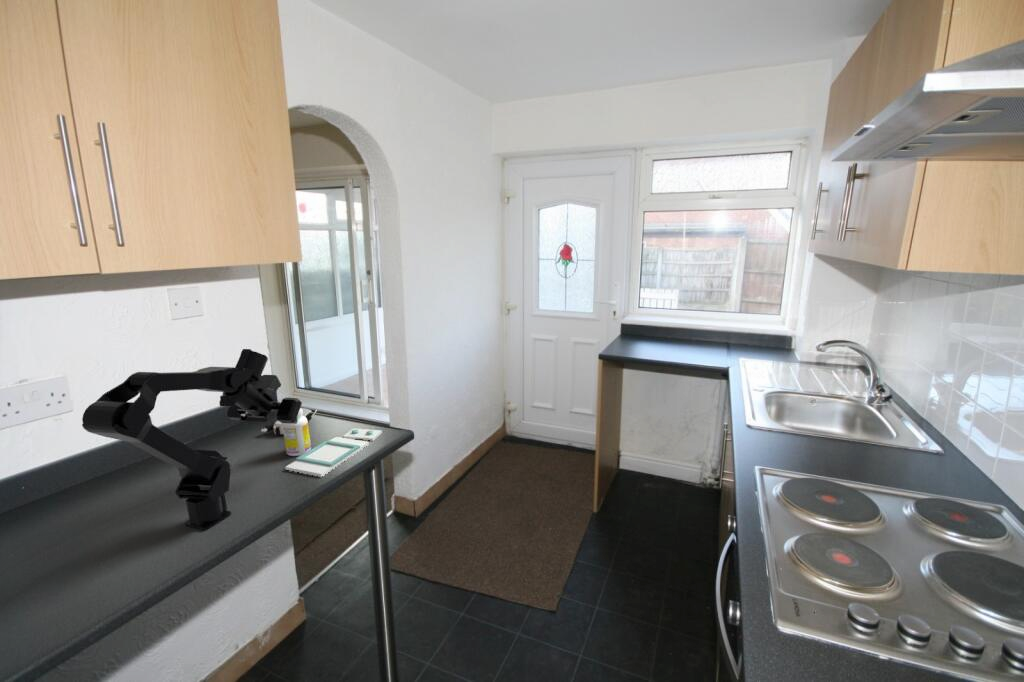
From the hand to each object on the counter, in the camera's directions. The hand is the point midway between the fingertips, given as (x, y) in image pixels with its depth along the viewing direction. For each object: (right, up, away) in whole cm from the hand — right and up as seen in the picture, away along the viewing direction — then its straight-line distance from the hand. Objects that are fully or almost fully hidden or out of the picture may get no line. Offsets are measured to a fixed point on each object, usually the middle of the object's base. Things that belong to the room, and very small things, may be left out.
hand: (281, 421), depth 129 cm
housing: (+12, -11, +4) cm, 17 cm away
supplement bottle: (+1, -11, +8) cm, 13 cm away
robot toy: (-9, -7, +25) cm, 28 cm away
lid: (+17, -8, +18) cm, 26 cm away
